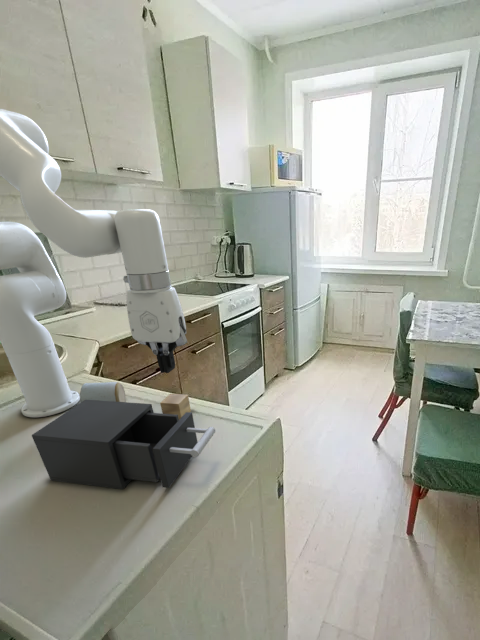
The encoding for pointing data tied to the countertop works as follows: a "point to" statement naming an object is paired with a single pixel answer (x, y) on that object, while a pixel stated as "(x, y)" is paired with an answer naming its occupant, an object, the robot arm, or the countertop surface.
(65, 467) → the box
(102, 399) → the ceramic mug
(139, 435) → the basket
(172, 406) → the block
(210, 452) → the countertop surface
